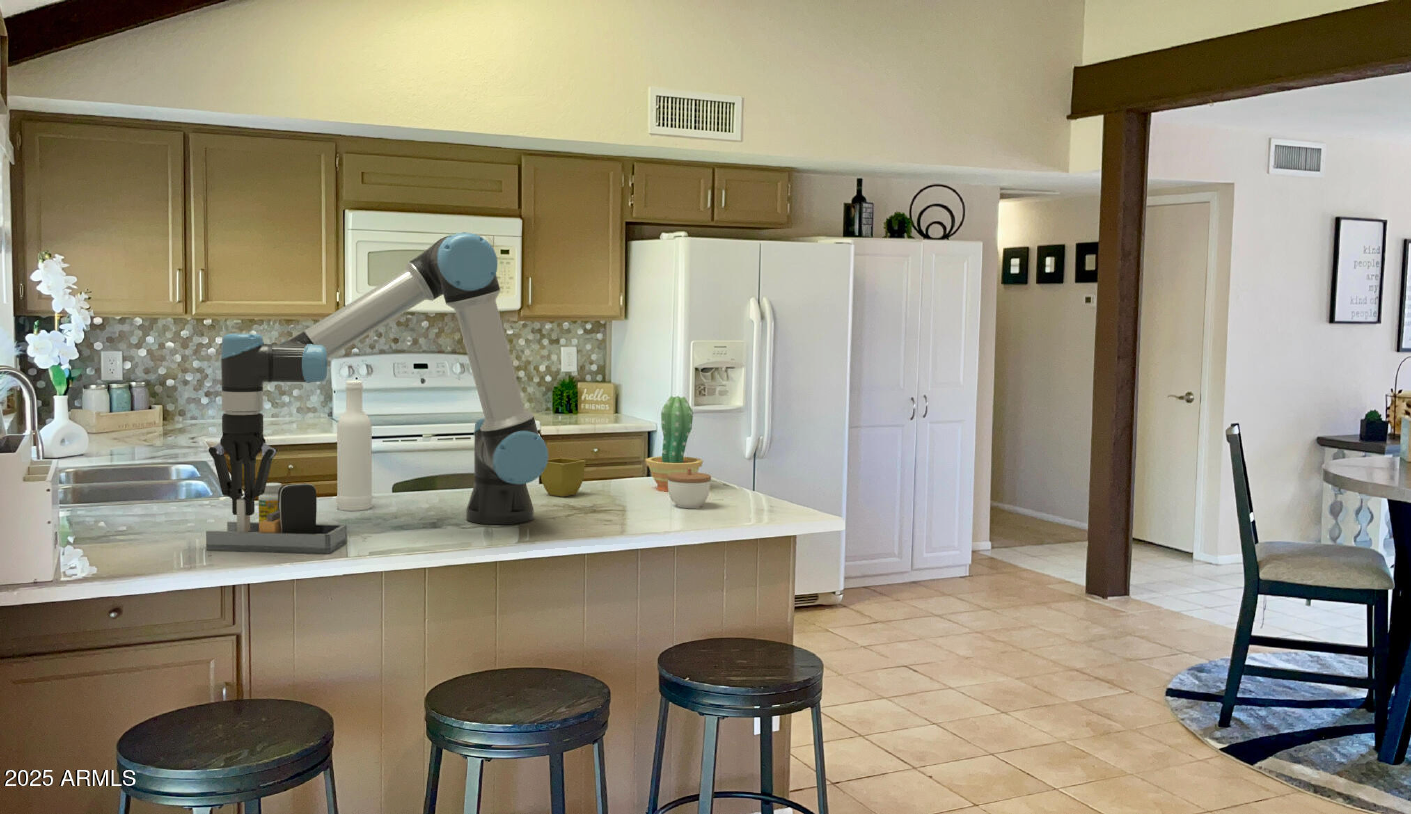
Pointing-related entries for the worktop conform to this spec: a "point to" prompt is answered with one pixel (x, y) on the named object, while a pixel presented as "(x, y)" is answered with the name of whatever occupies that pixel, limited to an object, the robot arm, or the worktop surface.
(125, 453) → the worktop surface
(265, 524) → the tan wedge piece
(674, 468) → the potted cactus
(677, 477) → the lidded jar
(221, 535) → the tray
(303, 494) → the battery charger
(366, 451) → the bottle
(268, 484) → the supplement bottle
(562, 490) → the flower pot
